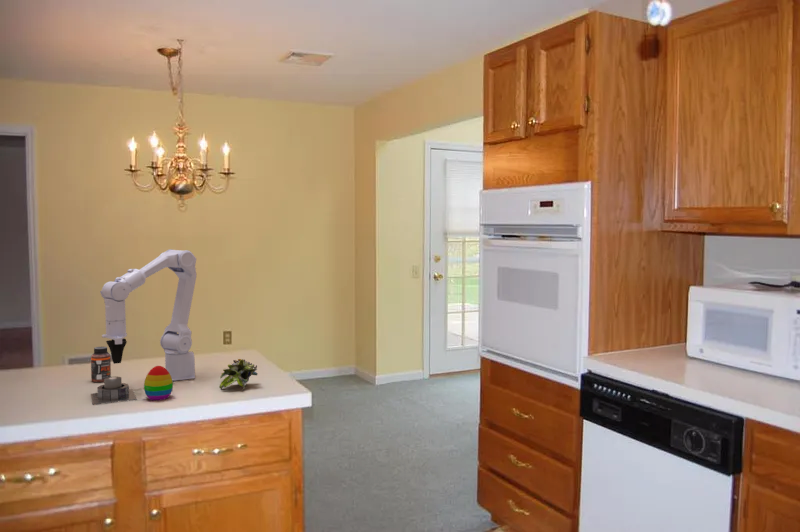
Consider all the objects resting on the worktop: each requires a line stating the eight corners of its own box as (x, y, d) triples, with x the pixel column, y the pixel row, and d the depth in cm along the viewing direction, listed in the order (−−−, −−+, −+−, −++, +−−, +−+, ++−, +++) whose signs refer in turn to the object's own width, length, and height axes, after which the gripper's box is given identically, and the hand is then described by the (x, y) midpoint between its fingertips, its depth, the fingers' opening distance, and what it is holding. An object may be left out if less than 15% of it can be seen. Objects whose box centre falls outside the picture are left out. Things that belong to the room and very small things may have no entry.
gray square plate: (132, 389, 200) (132, 379, 200) (136, 399, 190) (136, 388, 190) (90, 394, 195) (90, 384, 194) (92, 404, 184) (92, 393, 184)
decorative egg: (148, 403, 186) (147, 370, 185) (141, 397, 193) (140, 365, 192) (176, 399, 191) (175, 366, 190) (168, 392, 197) (168, 361, 197)
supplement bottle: (103, 383, 208) (102, 349, 207) (87, 382, 209) (86, 348, 208) (114, 378, 214) (114, 346, 213) (99, 377, 215) (98, 345, 214)
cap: (120, 393, 195) (120, 375, 195) (122, 397, 191) (122, 378, 191) (103, 395, 193) (103, 377, 193) (105, 399, 189) (105, 380, 188)
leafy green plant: (239, 400, 208) (257, 368, 212) (249, 403, 199) (268, 369, 203) (210, 384, 204) (229, 352, 208) (218, 386, 195) (238, 352, 199)
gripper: (99, 317, 200) (101, 359, 201) (103, 324, 187) (104, 369, 188) (123, 315, 203) (125, 357, 204) (129, 322, 191) (130, 366, 192)
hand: (117, 362), depth 197 cm, fingers closed
